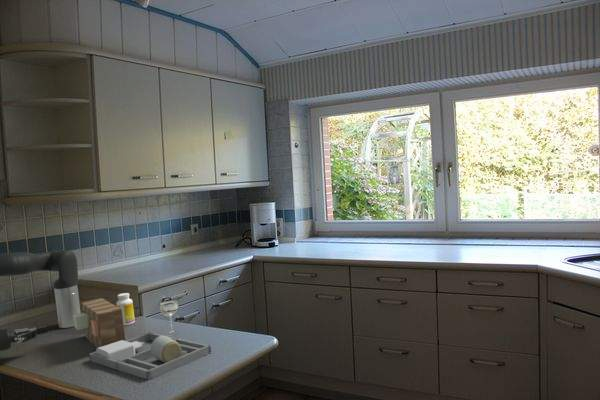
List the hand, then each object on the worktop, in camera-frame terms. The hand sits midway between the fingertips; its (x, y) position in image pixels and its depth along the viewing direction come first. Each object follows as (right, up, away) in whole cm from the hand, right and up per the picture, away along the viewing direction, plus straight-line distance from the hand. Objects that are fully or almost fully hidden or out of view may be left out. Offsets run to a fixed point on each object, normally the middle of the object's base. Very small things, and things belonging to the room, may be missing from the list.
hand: (47, 328), depth 189 cm
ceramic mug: (+52, -4, -23) cm, 57 cm away
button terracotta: (+22, -1, -4) cm, 22 cm away
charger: (+34, -6, -15) cm, 37 cm away
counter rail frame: (+44, -5, -19) cm, 48 cm away
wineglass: (+45, -3, +6) cm, 46 cm away
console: (+20, -6, +4) cm, 21 cm away
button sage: (+10, -1, +7) cm, 12 cm away
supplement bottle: (+21, -5, +27) cm, 34 cm away
